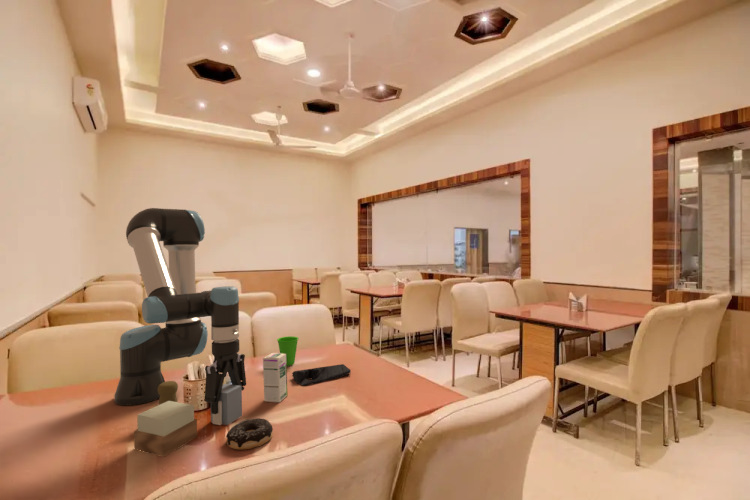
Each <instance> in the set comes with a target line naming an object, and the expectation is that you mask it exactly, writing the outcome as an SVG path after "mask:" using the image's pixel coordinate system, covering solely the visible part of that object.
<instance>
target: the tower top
mask: <svg viewBox="0 0 750 500" xmlns="http://www.w3.org/2000/svg"><path fill="white" fill-rule="evenodd" d="M136 416H137V429H138V431H141V432H146V433H150V434H155V435H159V436H166V435H168V434H170V433H172V432H173V431H175V430H177V429H179V428H181V427H183V426H184V425H186V424H188V423H190V422H192V421H194V419H195V405H194V404H189V403H183V402H179V401H177V402H173V401H167V402H165V403H163V404H160V405H159V404H158V405H157V406H154V407H151V408H149V409H147V410H145V411H143V412H140V413H139V414H137V415H136Z"/></svg>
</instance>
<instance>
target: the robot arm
mask: <svg viewBox="0 0 750 500" xmlns="http://www.w3.org/2000/svg"><path fill="white" fill-rule="evenodd" d="M125 229H126V231H125V236H126V241H127V244H128V246H130V247H131V248H133V251H134V255H135V258H136V261H137V265H138V269H139V272H140V275H141V278H142V282H143V286H144V289H145V292H146V296H147V297H144V298H143V300H142V302H141V312H142V315H141V316H142V318H143V321H144V322H145V323H146V324H149V325H143V326H142V325H141V326H138V327H135V328H132V329H128V330H126V331H124V333H122V334H121V335H120V338H119V339H120V340H119V347H118V348H119V359H120V361H119V363H120V365H119V367H120V368H119V369H120V371H119V373H120V375H119V377H120V378H119V380H118V384H117V386H116V387H117V388H116V390H115V392H114V396H113V397H114V400H113V401H115V402H114V403H115V404H116V403H117V404H116V405H118V404H120V405H119V406H135V405H141V404H148V403H150V402H153V401H156V400H159V399H160V395H159V394H158V386H159V385H160V384H161V383H163V382H166V381H165V378H164V375H163V373H162V369H161V367H162V366H161V365H162V363H164V362H168V361H172V360H173V361H174V360H178V359H183V358H184V359H185V358H190V357H193V356H196V355H200V354H201V353H203V352H204V350H205V348H206V346H207V343H208V335H209V334H208V326H207V325H206V323H205V322H203V321H202V319H201V318H205V317H210V319H211V320H210V321H211V323H210V325H211V328H210V329H211V330H210V331H211V336H210V337H211V340H212V342H211V353H212V355H213V360H212V361H213V362H212V363H211V364H210V365H206V366H204V367H205V368H204V370H205V371H204V372H205V389H204V402H205V403H210V414H211V413H212V417H213V422H212V425H218V426H221V425H223V424H222V401H219V399H220V395H221V391H222V386H223V385H224V381H225V378H226V377H227V375H228V376H229V380H230V384H232V385H239V386H242V391H245V387H246V386H247V377H246V366H245V358H246V355H245V354H243V353H239V352H240V339H239V337H240V327H239V325H240V322H239V320H240V319H239V318H240V317H239V315H240V312H239V310H240V308H239V307H240V305H239V302H240V297H239V289H238V288H237V287H236V286H233V285H232V286H228V285H227V286H216V287H213V288H211V290H204V291H200V292H196V258H195V255H196V254H195V253H196V252H195V251H196V249H198V247H199V246H200V242H202V241H203V240H204V239H205V233H206V232H205V230H206V229H205V223H204V220H203V218H202V216H201V214H199V213H198V212H197V211H195V210H190V209H177V208H175V209H174V208H159V207H150V208H145V209H143V210H140V211H139V212H138V213H136V214H135V215H133V217H131V219H130V220H129V222H128V224H127V226H126V228H125ZM160 242H162V243H163V248H165V250H167V252H168V262H167V261H166V258H165V257H166V256H165V254H164V252H163V249H162V246H161V243H160ZM160 324H165V327H161V326H160ZM215 397H216V398H215Z"/></svg>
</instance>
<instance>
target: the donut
mask: <svg viewBox="0 0 750 500" xmlns="http://www.w3.org/2000/svg"><path fill="white" fill-rule="evenodd" d="M273 429H274V428H273V425H272V424H271V422H270V421H269V420H268V419H266V418H260V417H257V418H250V419H245V420H242V421H240V422H238V423H236V424H235V425H233V426H232V427H231V428H229V430H228V432H227V434H226V436H225V437H226V444H227V446H228V447H229V448H231V449H234V450H238V451H244V450H251V449H254V448H258V447H260V446H263V445H265V444H266V443H268V442H269V441H270V440H271V439H272V438H273V435H274V433H273Z"/></svg>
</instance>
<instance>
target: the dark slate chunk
mask: <svg viewBox="0 0 750 500" xmlns="http://www.w3.org/2000/svg"><path fill="white" fill-rule="evenodd" d="M351 370H352V369H350V368H348V366H346V365H345V364H344V363H341V364H334V365H328V366H321V367H320V366H319V367H314V368H307V369H306V368H305V369H300V370H295V371H293V372H292V376H291V377H292V378H293V381H294V382H295V383H296V384H299V385H300V386H304V387H305V386H309V385H314V384H319V383H322V382H326V381H330V380H331V381H332V380H334V379H338V378H341V377H344V376H347V375H349V374H351Z"/></svg>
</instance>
